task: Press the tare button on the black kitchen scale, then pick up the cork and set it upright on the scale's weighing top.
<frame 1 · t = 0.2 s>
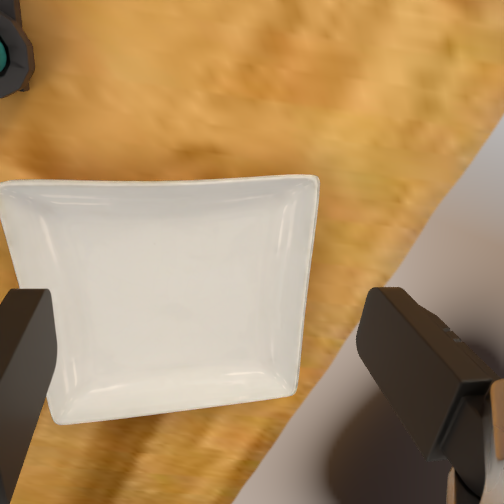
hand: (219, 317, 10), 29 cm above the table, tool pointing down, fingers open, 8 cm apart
square plate: (175, 292, 43), on the table
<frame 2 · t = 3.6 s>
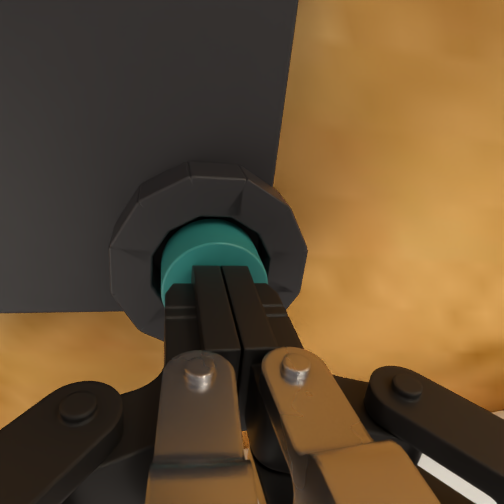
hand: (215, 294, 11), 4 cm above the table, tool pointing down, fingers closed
tare button: (212, 275, 12), point 3 cm above the table, slide at -0.2 cm, touching gripper
scale: (77, 89, 12), on the table
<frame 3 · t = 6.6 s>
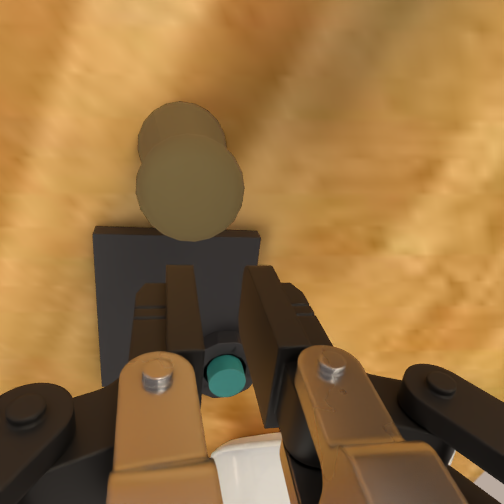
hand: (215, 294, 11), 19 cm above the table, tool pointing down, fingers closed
cork: (182, 147, 28), on the table
square plate: (321, 484, 49), on the table
tare button: (225, 375, 33), point 4 cm above the table, slide at 0.1 cm
scale: (176, 306, 33), on the table
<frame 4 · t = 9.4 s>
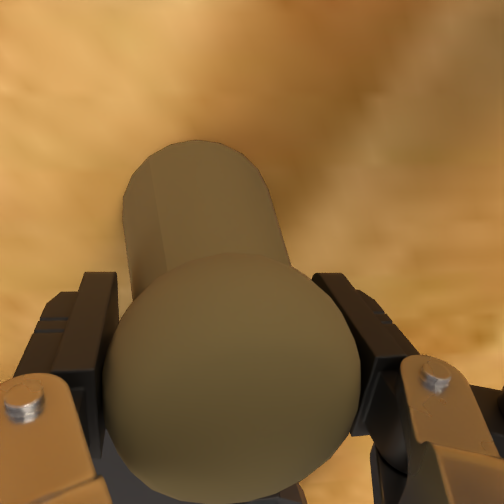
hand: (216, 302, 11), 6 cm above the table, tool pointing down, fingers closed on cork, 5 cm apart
cork: (198, 213, 17), on the table, touching gripper
scale: (186, 436, 22), on the table
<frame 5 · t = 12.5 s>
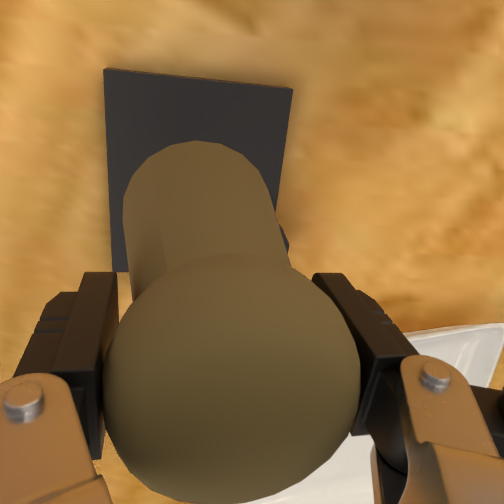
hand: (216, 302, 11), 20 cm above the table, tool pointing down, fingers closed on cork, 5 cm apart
cork: (198, 213, 17), point 13 cm above the table, touching gripper
square plate: (346, 414, 45), on the table
scale: (196, 180, 30), on the table
when the fingers open (8 cm above the table, at t = 15.8 s): cork stays where it is, resting on scale.
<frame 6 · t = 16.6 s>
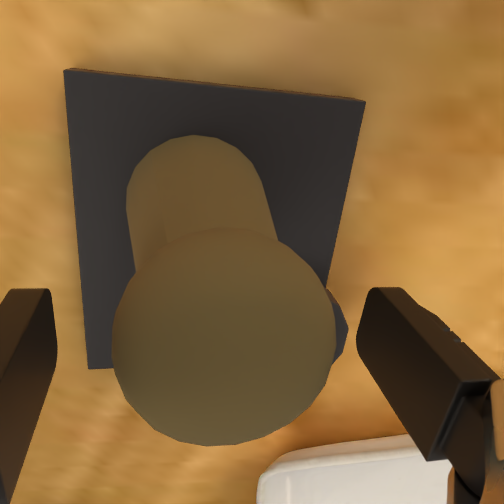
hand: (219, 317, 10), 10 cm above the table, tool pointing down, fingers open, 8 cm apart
cork: (196, 203, 18), point 1 cm above the table, touching scale
scale: (211, 235, 20), on the table
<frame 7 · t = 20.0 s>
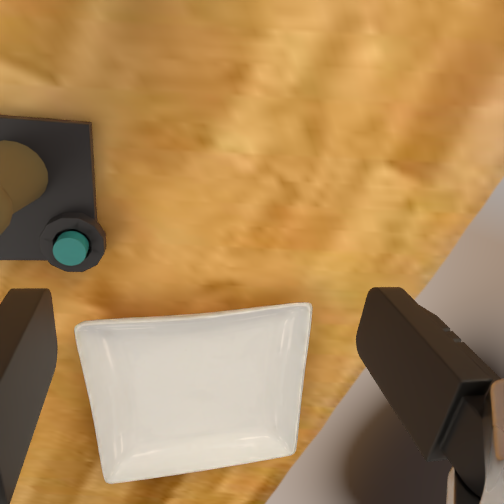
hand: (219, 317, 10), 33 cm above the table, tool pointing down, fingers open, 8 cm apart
cork: (13, 172, 37), point 1 cm above the table, touching scale
square plate: (200, 380, 55), on the table
tare button: (71, 248, 39), point 4 cm above the table, slide at 0.1 cm
scale: (30, 190, 40), on the table
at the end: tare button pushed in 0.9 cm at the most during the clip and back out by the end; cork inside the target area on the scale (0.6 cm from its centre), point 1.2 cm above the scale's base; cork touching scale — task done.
